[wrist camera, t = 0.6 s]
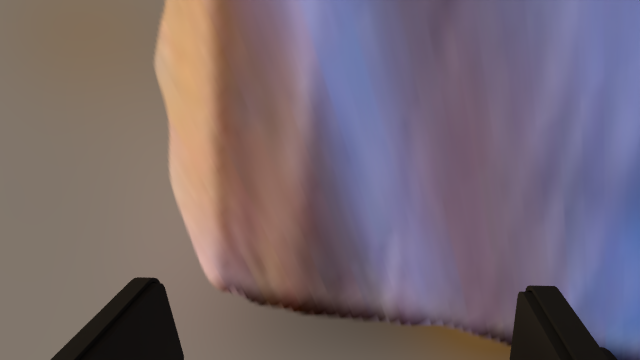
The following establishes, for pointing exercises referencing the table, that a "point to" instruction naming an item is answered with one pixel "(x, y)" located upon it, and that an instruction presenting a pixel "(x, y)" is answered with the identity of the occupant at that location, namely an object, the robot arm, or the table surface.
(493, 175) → the table surface
